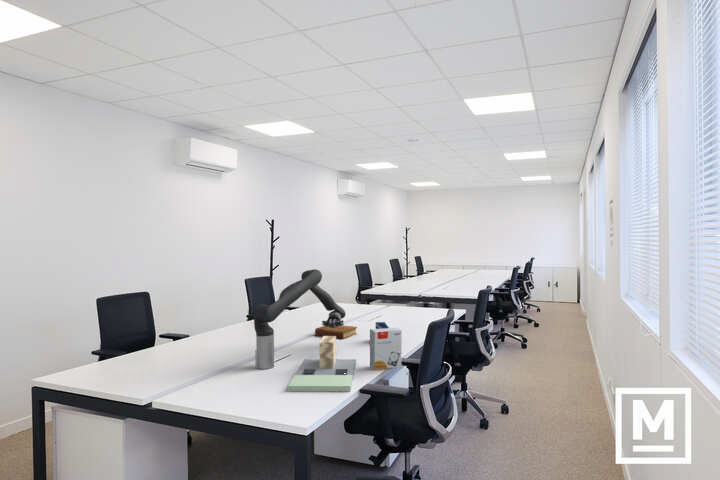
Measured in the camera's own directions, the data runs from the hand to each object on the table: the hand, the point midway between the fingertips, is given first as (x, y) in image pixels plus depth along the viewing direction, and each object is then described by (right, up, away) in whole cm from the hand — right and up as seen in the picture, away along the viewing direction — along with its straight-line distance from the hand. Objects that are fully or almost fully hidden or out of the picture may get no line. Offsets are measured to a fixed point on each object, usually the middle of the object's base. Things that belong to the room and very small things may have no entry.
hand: (331, 325), depth 256 cm
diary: (-1, -19, +65) cm, 68 cm away
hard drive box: (+30, -19, -14) cm, 38 cm away
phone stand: (+32, -19, +43) cm, 57 cm away
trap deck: (-1, -20, -29) cm, 35 cm away
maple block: (-1, -17, -16) cm, 23 cm away
